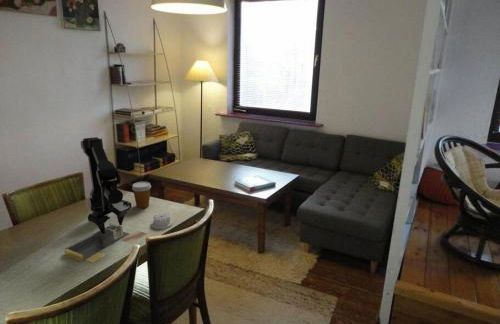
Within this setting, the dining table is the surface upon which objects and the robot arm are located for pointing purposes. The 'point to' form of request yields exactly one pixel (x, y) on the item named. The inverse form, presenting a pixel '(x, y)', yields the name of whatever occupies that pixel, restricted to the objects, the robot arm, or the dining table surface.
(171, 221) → the mechanical component
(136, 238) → the board
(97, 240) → the shallow tray
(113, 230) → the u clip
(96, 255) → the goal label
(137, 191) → the disposable coffee cup
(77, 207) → the dining table surface
